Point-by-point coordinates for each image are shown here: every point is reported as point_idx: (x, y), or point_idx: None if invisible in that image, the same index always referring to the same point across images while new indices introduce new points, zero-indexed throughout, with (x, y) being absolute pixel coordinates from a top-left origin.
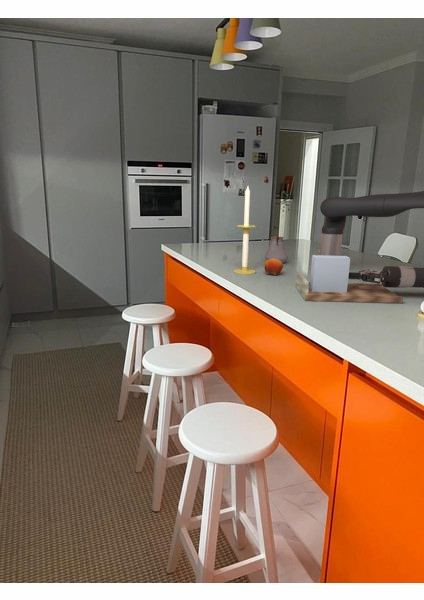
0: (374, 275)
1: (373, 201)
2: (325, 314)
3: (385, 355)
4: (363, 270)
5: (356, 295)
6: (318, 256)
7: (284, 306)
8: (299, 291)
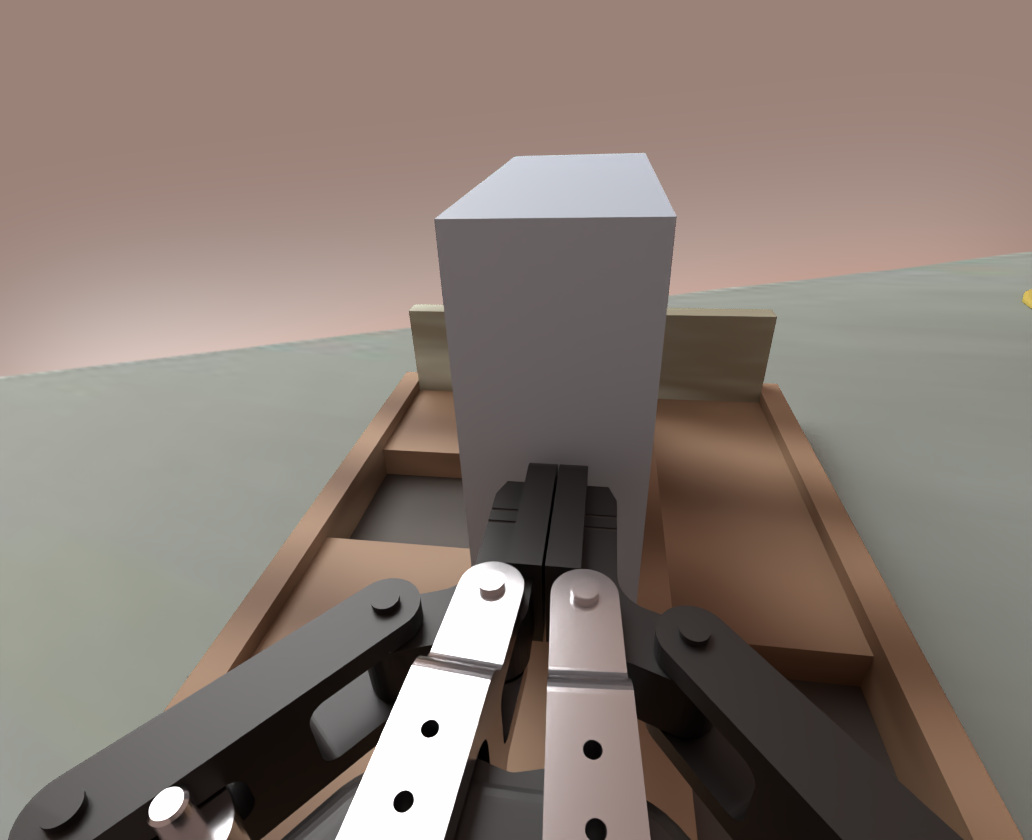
0: (195, 730)
1: None
2: (141, 425)
3: None
4: (836, 739)
5: (255, 609)
6: (571, 159)
7: (345, 350)
8: None
